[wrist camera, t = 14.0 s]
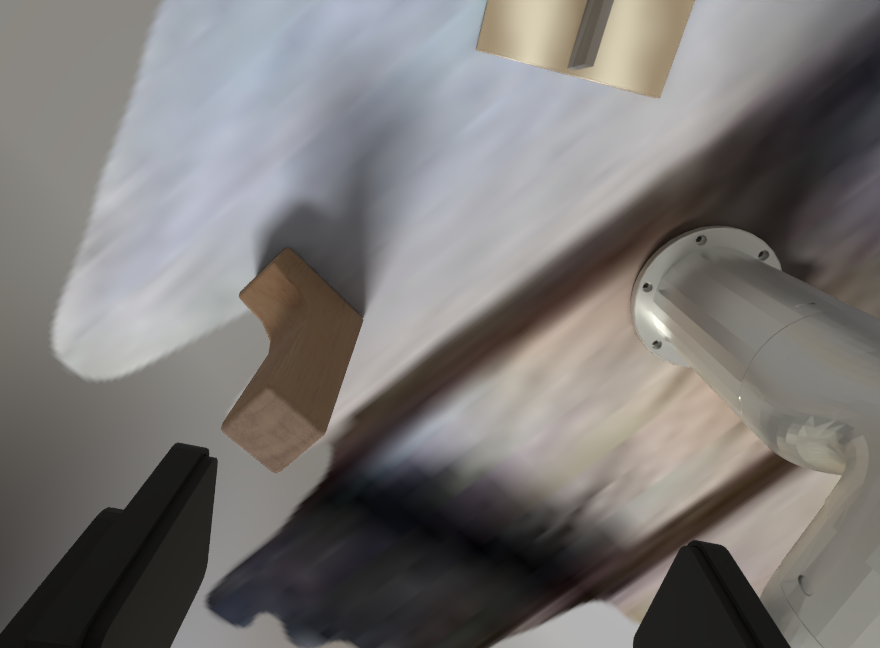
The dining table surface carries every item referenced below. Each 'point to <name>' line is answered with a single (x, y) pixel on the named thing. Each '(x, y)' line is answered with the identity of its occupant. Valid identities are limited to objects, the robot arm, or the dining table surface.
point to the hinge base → (590, 38)
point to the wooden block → (293, 362)
